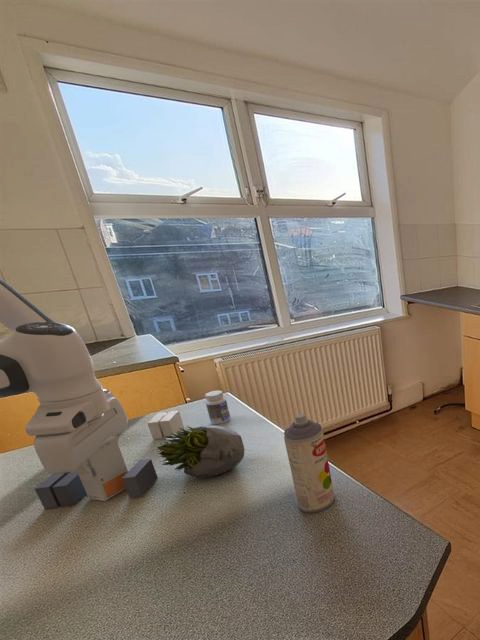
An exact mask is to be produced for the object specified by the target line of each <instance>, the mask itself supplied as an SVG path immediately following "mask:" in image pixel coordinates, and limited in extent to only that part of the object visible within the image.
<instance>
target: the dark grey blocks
mask: <svg viewBox="0 0 480 640" xmlns="http://www.w3.org/2000/svg"><path fill="white" fill-rule="evenodd" d="M158 477H159V476H158V474H157V471H156V469H155V465H154V462H153V461H152V458H146V459H139V460H138V461H137V462H136V463H135V464H134V465H133V466H132V467H131V468H130V469H129V470H128V472H127V473H126V475H125V476H124V477H123V478H122V480H123V483H124V485H125V488H126V489H125V490H126V493H127V496H128V498H129V499H136V498H137V499H138V498H143V496H144V495H145V494H146V493H147V492H148V491H149V490H150V488H151V487H152V486H153V485H154V483H155V482H156V481H157V480H158V479H159V478H158ZM34 490H35V491H34V492H35V493H36V494H37V495H36V496H37V497H38V498H39V501H40V502H41V505H42V507H43V509H44V510H52V509H58V508H59V507H61V508H64V507H71V506H75V505H76V504H78V502H80V500H81V499H83V498H84V497H85V496H86V495H87V494H86V491H85V489H84V486H83V484H82V482H81V479H80V477H79V474H78V473H76V472H74V471H73V472H68V473H60V474H52V473H51V475H50V476H48V477H47V478H46V479H44V480H43V481H42V482H41V483H40V484H38V485H37V486H36V487H35V488H34Z"/></svg>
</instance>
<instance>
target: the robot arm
mask: <svg viewBox="0 0 480 640" xmlns="http://www.w3.org/2000/svg"><path fill="white" fill-rule="evenodd" d="M0 324H1V325H2V326H4V327H5V328H6V329H8V331H10V332H11V333H9V334H8V335H6V336H5V337H2V338H0V398H3V397H5V398H6V397H10V396H16V395H21V394H24V393H34V394H35V395H36V397H37V400H38V403H39V405H38V407H37V408H36V411H35V412H34V414H33V415H32V417H31V418H30V419H29V420H28V422H27V423H26V424H25V426H24V430H25V433H26V434H27V436H29V437H34V439H33V447H34V450H35V452H36V455H37V457H38V459H39V461H40V463H41V465H42V468H43V469H44V470H45V471H46V472H47V473H49V474H51V475H52V474H60V473H68V472H73V471H74V472H76V473H78V474H79V476H80V478H81V480H83V481H86V480H91V479H93V478H94V477H95V476H96V473H95V469H94V468H91V469H90V468H89V467H87V466H86V465H87V464H88V462H87V459H89V458H90V457H91V456H92V455H93V454H94V453H96V452H97V451H98V450H99V449H100V446H101V445H100V444H101V443H102V442H103V441H104V440H105V439H107V438H108V437H109V436H113V437H116V440H117V443H118V444H119V434H118V433H119V432H120V433H121V432H122V430H124V429H125V428H126V427H127V426H128V424H129V418H128V416H127V413H126V411H125V408H124V407H123V405H122V403H121V402H120V400H119V399H118V398H117V397H114V394H113V392H112V391H110V390H109V389H106V388H103V385H102V384H101V382H100V381H99V380H98V379H97V376H96V374H95V364H94V361H93V359H92V357H91V354H90V351H89V349H88V348H87V345H86V343H85V342H84V340H83V338H82V337H81V335H80V334H79V332H77V330H76V329H75V328H74V327H72V326H71V325H69V324H65V323H63V322H57V321H54V320H53V319H52V318H50V317H49V316H48V315H46V314H45V313H44V312H42V311H41V310H40V309H39V308H38V307H36V306H35V305H34V304H33V303H32V302H30V301H29V300H28V299H27V298H25V297H24V296H23V295H22V294H21V293H19V292H18V291H17V290H16V289H14V288H13V287H12V286H10V284H8V283H7V282H6V281H4V280H3V279H2V278H1V277H0ZM117 434H118V435H117Z"/></svg>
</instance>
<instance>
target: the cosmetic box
mask: <svg viewBox="0 0 480 640" xmlns="http://www.w3.org/2000/svg"><path fill="white" fill-rule="evenodd" d="M100 445H101V446H100V449H99V450H98V451H97V452H96V453H94V454H93V455H92V456H91V457H90V458H89V459H87V462H88V464H87V465H86V466H87V467H89V468H90V469H91V468H94V469H95V473H96V476H95V477H94V478H93V479H91V480H86V481H83V480H81V482H82V484H83V486H84V489H85V491H86V494H85V495H86V496H87V498H88V500H94V501H101V502H107V501H108V500H110V499H111V498H113V497H115V496H116V495H118V494H120V493H121V492H123V491H125V490H126V488H125V485H124V483H123V480H122V478H123V477H124V476H125V475H126V473H127V472H128V471H129V470H128V467H127V465H126V461H125V460H124V456H123V453H122V450H121V449H120V445H119V442H118V443H117V440H116V437H113V436H109V437H108V438H107V439H105V440H104V441H103V442H102V443H101V444H100ZM79 477H80V476H79ZM80 479H81V478H80Z"/></svg>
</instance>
